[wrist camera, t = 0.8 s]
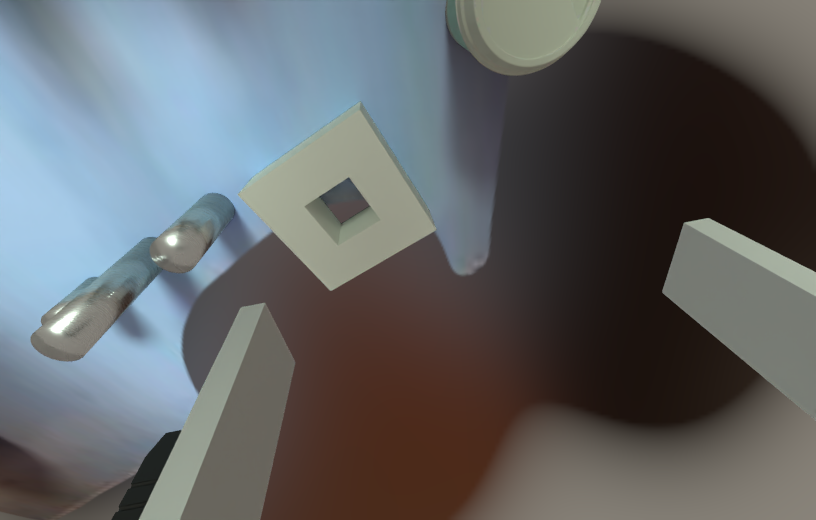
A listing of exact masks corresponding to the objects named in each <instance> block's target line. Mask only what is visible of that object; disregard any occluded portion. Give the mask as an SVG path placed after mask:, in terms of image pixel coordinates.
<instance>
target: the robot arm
mask: <svg viewBox="0 0 816 520" xmlns="http://www.w3.org/2000/svg"><path fill="white" fill-rule="evenodd" d="M662 292H663V293H664V294H665V295H666V296H667V297H668V298H670V299H671V300H672V301H673V302H674V303H675V304H677V305H678V306H679V307H680V308H681V309H683V310H684V311H685V312H686V313H687V314H689V315H690V316H691V317H692V318H693V319H695V320H696V321H697V322H698V323H699V324H701V325H702V326H703V327H704V328H705V329H707V330H708V331H709V332H710V333H711V334H713V335H714V336H715V337H716V338H717V339H719V340H720V341H721V342H722V343H723V344H725V345H726V346H727V347H728V348H729V349H731V350H732V351H733V352H734V353H735V354H736V355H738V356H739V357H740V358H742V359H743V360H744V361H745V362H746V363H747V364H749V365H750V366H751V367H752V368H753V369H754V370H756V371H757V372H758V373H759V374H760V375H762V376H763V377H764V378H765V379H766V380H768V381H769V382H770V383H771V384H772V385H774V386H775V387H776V388H777V389H779V390H780V391H781V392H782V393H783V394H784V395H786V396H787V397H788V398H789V399H790V400H792V401H793V402H794V403H795V404H796V405H798V406H799V407H800V408H801V409H802V410H803V411H805V412H806V413H807V414H808V415H810V416H811V417H812V418H813V419H814V420H815V421H816V272H814V271H812V270H810V269H808V268H806V267H804V266H802V265H800V264H798V263H796V262H794V261H792V260H790V259H788V258H786V257H784V256H782V255H780V254H778V253H776V252H774V251H772V250H770V249H768V248H766V247H764V246H762V245H760V244H758V243H756V242H754V241H753V240H750V239H749V238H747V237H744V236H742V235H741V234H738V233H737V232H735V231H733V230H731V229H729V228H727V227H725V226H723V225H721V224H719V223H717V222H715V221H713V220H711V219H709V218H707V219H702V220H697V221H692V222H686V223H684V225H683V228H682V231H681V235H680V238H679V241H678V244H677V247H676V250H675V254H674V257H673V260H672V263H671V266H670V269H669V272H668V275H667V279H666V282H665V285H664V288H663V291H662ZM294 366H295V361H294V359H293V357H292V355H291V353H290V351H289V349H288V347H287V345H286V343H285V341H284V339H283V337H282V335H281V333H280V331H279V329H278V327H277V325H276V323H275V321H274V319H273V317H272V315H271V313H270V311H269V309H268V307H267V305H266V303H261V304H256V305H251V306H245V307H241V308H240V310H239V312H238V314H237V316H236V319H235V320H234V323H233V325H232V327H231V329H230V331H229V333H228V335H227V337H226V339H225V341H224V344H223V346H222V348H221V350H220V352H219V354H218V356H217V358H216V360H215V362H214V364H213V366H212V368H211V370H210V373H209V375H208V377H207V379H206V381H205V383H204V385H203V387H202V389H201V391H200V393H199V395H198V398H197V400H196V402H195V404H194V406H193V408H192V410H191V412H190V414H189V416H188V418H187V420H186V423H185V425H184V427H183V429H182V430H179V431H174V432H169V433H166V434H165V435H164V436H163V437H162V438H161V439H160V441H159V442H158V443H157V444H156V445H155V446H154V448H153V449H152V450H151V451H150V452H149V453H148V455H147V456H146V457H145V459H144V460H143V462H142V464H141V466H140V468H139V470H138V472H137V473H136V475H135V477H134V479H133V481H132V483H131V484H132V486H131V488H130V489H128V490H127V492H126V494H125V496H124V498H123V500H122V501H121V503H120V505H119V511H118V512H116V513H115V514H114V516H113V518H112V520H260V517H261V513H262V508H263V504H264V499H265V495H266V490H267V486H268V482H269V477H270V473H271V468H272V464H273V459H274V455H275V450H276V446H277V442H278V437H279V433H280V428H281V424H282V419H283V415H284V411H285V406H286V402H287V397H288V392H289V388H290V384H291V379H292V375H293V370H294Z"/></svg>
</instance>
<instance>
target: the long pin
mask: <svg viewBox="0 0 816 520" xmlns="http://www.w3.org/2000/svg"><path fill="white" fill-rule="evenodd" d="M156 239H157V238H155V237H147V238H144V239H143V240H141V241H140V242H139V243H138V244H137V245H135V246H134V247H133V248H132V249H131V250H130V251H128V252H127V253H126V254H125V255H124V256H123V257H122V258H120V259H119V260H118V261H117V262H116V263H115V264H113V265H112V266H111V267H110V268H109V269H108V270H106V271H105V272H104V273H103V274H102V275H101V276H99V277H98V278H97V279H96V280H95V281H94V282H92V283H91V284H90V285H89V286H88V287H87V288H85V289H84V290H83V291H82V292H81V293H80V294H78V295H77V296H76V297H75V298H74V299H73V300H71V301H70V302H69V303H68V304H67V305H66V306H64V307H63V308H62V309H61V310H60V311H59V312H57V313H56V314H55V315H54V316H53V317H52V318H50V319H49V320H48V321H47V322H46V323H45V324H44V325H42V326H41V327H40V328H39V329H38V330H37V331H35V332H34V333H33V334H32V336H31V343H32V345H33V347H34V348H35V349H36V350H37V351H38V352H40V353H41V354H43V355H44V356H47V357H49V358H51V359H55V360H59V361H76V360H79V359H81V358H82V357H83V356H84V355H85V354H86V353H87V352H88V351H89V350H90V349H91V348H92V347H93V345H94V344H95V343H96V342H97V341H98V340H99V339H100V338H101V337H102V336H103V335H104V333H105V332H106V331H107V330H108V329H109V328H110V327H111V326H112V325H113V324H114V323H115V321H116V320H117V319H118V318H119V317H120V316H121V315H122V314H123V313H124V312H125V310H126V309H127V308H128V307H129V306H130V305H131V304H132V303H133V302H134V301H135V300H136V298H137V297H138V296H139V295H140V294H141V293H142V292H143V291H144V290H145V289H146V288H147V286H148V285H149V284H150V283H151V282H152V281H153V280H154V279H155V278H156V277H157V276H158V274H159V273H160V272H161V271H162V270H163V268H161V267H159V266H158V265H157V264H156V263H155V262H154V261H153V259H152V258H151V255H150V246H151V244H152V242H153V241H155V240H156Z"/></svg>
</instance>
